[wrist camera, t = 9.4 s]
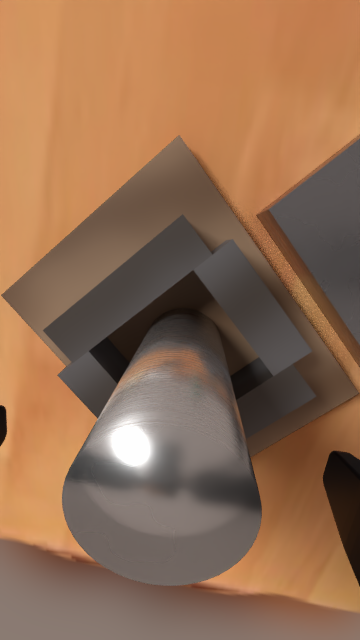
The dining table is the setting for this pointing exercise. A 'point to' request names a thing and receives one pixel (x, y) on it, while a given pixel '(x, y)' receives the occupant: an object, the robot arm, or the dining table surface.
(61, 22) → the dining table surface
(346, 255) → the socket block
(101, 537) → the steel peg
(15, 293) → the rack board
